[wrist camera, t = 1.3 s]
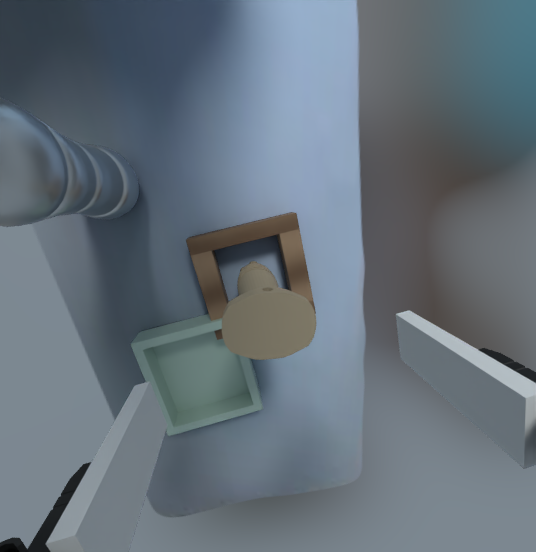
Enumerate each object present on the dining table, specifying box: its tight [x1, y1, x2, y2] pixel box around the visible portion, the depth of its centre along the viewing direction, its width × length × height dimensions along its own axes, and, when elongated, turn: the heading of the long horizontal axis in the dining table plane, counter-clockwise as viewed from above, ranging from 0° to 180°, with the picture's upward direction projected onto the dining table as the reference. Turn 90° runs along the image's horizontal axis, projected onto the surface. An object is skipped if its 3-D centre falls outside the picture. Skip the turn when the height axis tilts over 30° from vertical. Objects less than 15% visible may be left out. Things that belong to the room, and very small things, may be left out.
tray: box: [130, 314, 263, 436], centre depth 33 cm, size 13×12×3 cm
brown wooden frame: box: [186, 212, 316, 340], centre depth 31 cm, size 12×12×2 cm
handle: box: [222, 261, 316, 360], centre depth 25 cm, size 5×6×15 cm
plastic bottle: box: [0, 97, 139, 227], centre depth 19 cm, size 6×7×20 cm
